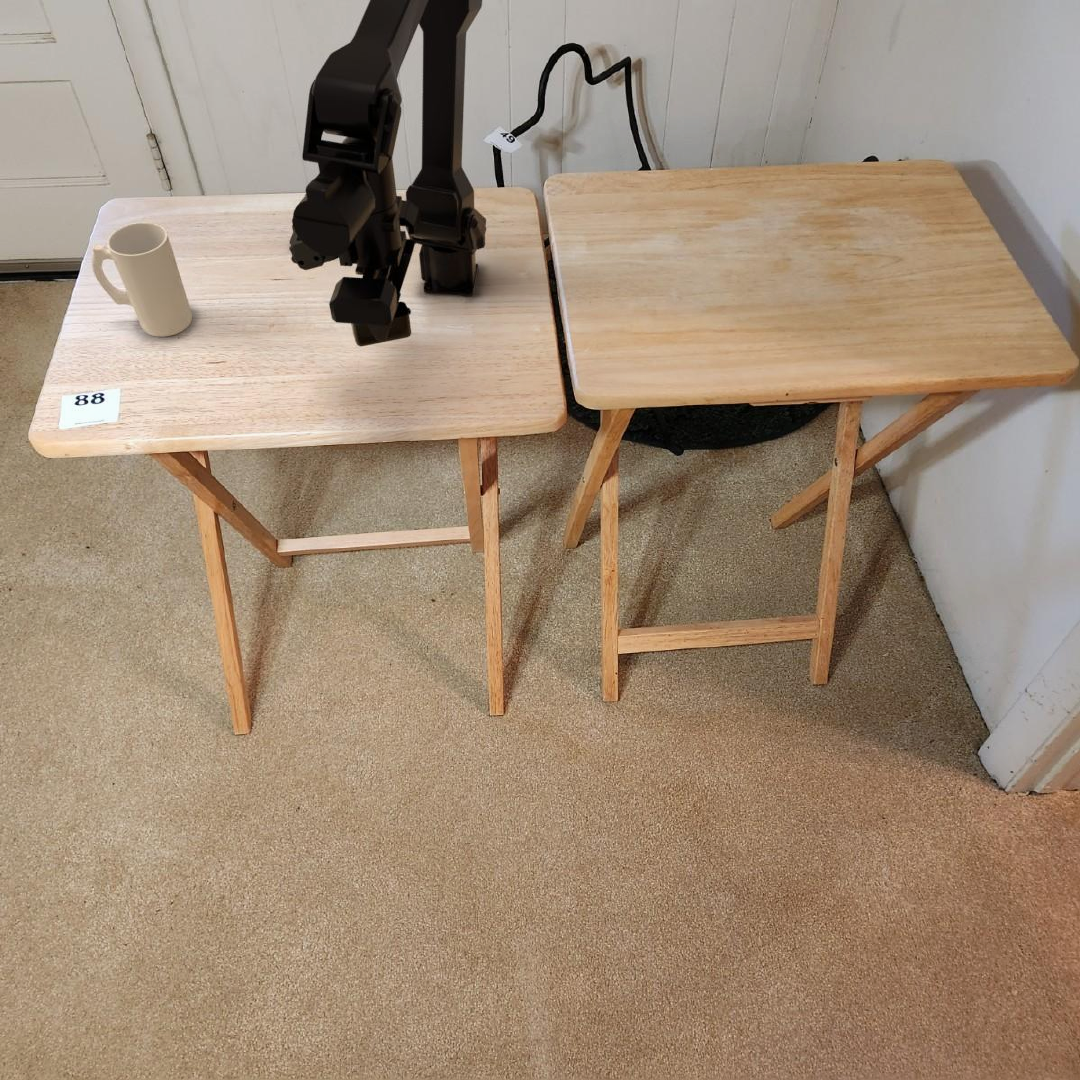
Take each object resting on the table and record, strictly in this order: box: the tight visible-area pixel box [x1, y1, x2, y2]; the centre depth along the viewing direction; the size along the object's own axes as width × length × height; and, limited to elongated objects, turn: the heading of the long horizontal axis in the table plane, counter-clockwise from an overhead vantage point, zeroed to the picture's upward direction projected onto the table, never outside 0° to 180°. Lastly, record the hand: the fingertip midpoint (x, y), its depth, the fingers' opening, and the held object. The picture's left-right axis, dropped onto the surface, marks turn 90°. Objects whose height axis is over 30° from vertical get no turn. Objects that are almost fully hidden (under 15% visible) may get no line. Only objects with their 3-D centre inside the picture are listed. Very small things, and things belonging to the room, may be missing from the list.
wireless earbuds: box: [350, 301, 412, 347], centre depth 109 cm, size 5×7×3 cm, turn 108°
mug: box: [91, 221, 193, 338], centre depth 118 cm, size 10×7×12 cm, turn 89°
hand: (386, 323), depth 110 cm, fingers closed on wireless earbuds, 5 cm apart
